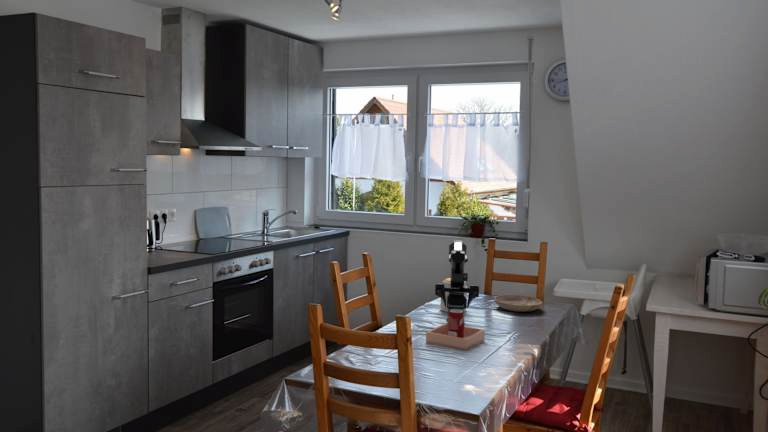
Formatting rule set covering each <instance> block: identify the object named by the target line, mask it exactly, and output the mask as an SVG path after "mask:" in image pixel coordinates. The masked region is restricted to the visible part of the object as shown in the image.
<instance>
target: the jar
mask: <svg viewBox="0 0 768 432" xmlns="http://www.w3.org/2000/svg"><path fill="white" fill-rule="evenodd" d="M450 282H451V277H448V278H445V279H443V280H442V284H444V287H450ZM466 283H467V281H464V288H468V286H467V285H466ZM447 295H449V292H445V296H446V307H445V306H444V303H443V301H442V299H441V298H440V304H439V307H440V311H442V312H444V313H448V308H447ZM464 296H466V299H468V297H467V296H468V293H464ZM448 305H449V304H448ZM463 311H464V313H465V312H466V311H467V308H465V309H463Z"/></svg>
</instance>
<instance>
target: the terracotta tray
mask: <svg viewBox="0 0 768 432" xmlns="http://www.w3.org/2000/svg"><path fill="white" fill-rule="evenodd" d="M447 328H448V322H445V323H443V324H441V325H438V326H437V327H434V328H433V329H430V330H428V331H426V332H425V343H426V344H429V345H434V346H440V347H445V348H450V349H455V350H461V351H465V352H466V351H469V350H470V349H472V348H473V347H476V346H477V345H478V344H481V343H482V342H484V341H485V338H486V337H485V336H486V335H485V334H486V333H485V332H486V329H482V328H478V327H477V328H476V327H471V326H466V325H464V338H459V337H454V336H448V335H447Z"/></svg>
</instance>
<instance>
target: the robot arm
mask: <svg viewBox="0 0 768 432" xmlns="http://www.w3.org/2000/svg"><path fill="white" fill-rule="evenodd" d="M448 246H449V247H448V257H449V258H448V259H449V260H448V262H449V263H450V266H451V267H450V278H451V282H450V287H444V284H443V283H436V284H435V285H434V295H435V296H437V297H438V298H440V300H441V299H442V301H443V303H444V306H445V307H446V296H445V292H449V295H447V308H448V312H447V315H448V314H449V312H450V310H451V309H460V310H463V309H465V308H466V309H469V307H470V305H471V303H472V301H473V300H475V299H476V298H479V295H480V286H479V285H477V284H469V288H468V287H467V288H464V281H465V282H468V279H469V278H468V277H469V275H468V274H469V273H468V272H465V264H467V262H469V258H468V256H467V245H466V244H464V241H463V240H456V239H454V240H452V243H451V244H449V245H448ZM464 293H467V294H468V295H467V296H468V297H467V298H466V296H464ZM448 304H449V305H448ZM463 313H464V314H465V312H464V311H463ZM446 321H447V322H448V318H447V319H446ZM464 321H465V318H464Z"/></svg>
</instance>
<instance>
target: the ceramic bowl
mask: <svg viewBox="0 0 768 432" xmlns="http://www.w3.org/2000/svg"><path fill="white" fill-rule="evenodd" d="M494 303H495V304H496V305H497V306H498V307H500V308H501V309H503V310H506V311H509V312H510V311H511V312H518V313H525V312H533V311H535V310H538V309H540V308H541V307H542V305H543V301H542V300H541V299H539V298H536V297H533V296H528V295H520V294H501V295H495V297H494Z"/></svg>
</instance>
